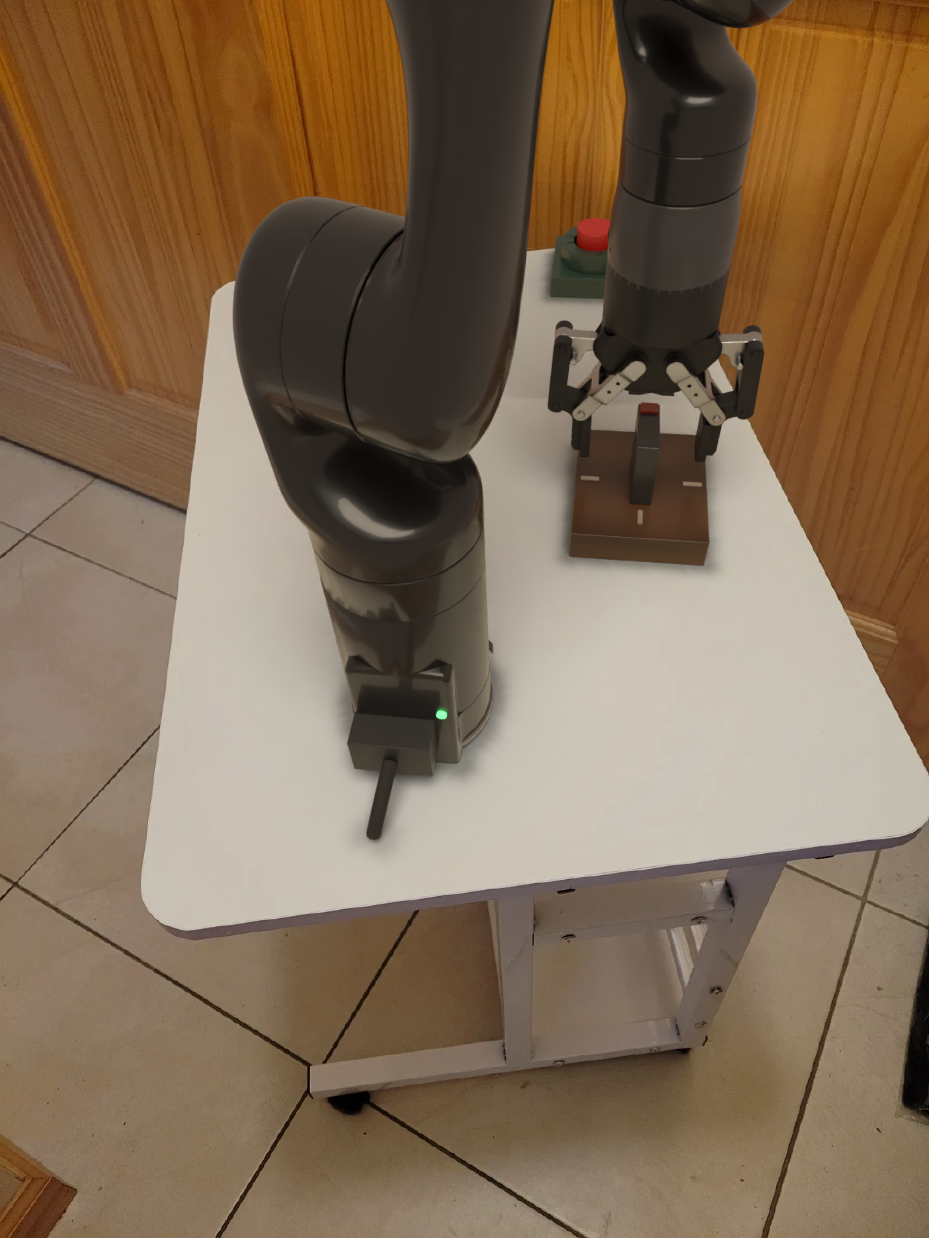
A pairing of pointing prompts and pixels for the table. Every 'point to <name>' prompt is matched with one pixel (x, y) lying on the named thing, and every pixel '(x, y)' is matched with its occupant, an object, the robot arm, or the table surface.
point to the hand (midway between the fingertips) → (641, 452)
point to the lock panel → (640, 529)
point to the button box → (577, 269)
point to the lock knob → (645, 453)
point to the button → (593, 234)
